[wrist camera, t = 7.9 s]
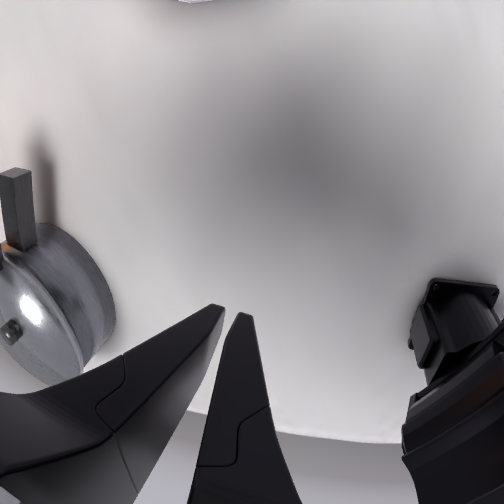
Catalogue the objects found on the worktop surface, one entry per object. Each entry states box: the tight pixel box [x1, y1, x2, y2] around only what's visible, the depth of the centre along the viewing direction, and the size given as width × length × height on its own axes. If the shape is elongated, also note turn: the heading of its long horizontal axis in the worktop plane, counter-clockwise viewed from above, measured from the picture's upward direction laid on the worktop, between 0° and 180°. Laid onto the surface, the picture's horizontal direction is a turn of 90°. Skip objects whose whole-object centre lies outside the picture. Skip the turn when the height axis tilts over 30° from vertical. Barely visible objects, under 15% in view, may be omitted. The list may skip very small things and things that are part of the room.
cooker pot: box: [0, 167, 115, 368], centre depth 26 cm, size 15×24×6 cm, turn 169°
